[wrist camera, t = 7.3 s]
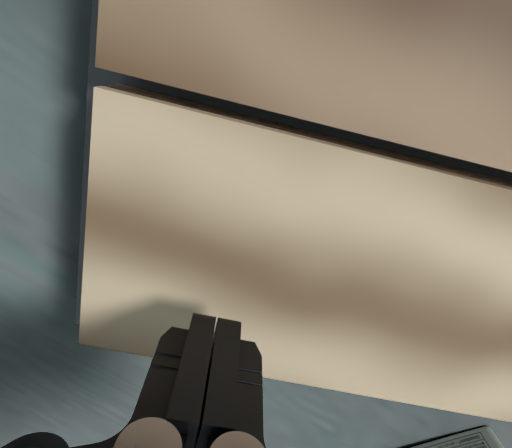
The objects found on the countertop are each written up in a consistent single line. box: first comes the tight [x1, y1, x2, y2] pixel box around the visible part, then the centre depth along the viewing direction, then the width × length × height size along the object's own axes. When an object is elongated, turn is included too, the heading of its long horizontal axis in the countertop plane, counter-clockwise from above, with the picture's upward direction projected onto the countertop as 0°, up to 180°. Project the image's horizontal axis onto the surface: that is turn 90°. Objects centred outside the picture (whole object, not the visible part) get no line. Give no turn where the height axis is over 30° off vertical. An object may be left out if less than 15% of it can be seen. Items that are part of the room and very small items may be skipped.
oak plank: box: [79, 84, 512, 422], centre depth 13 cm, size 9×19×2 cm, turn 76°
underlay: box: [75, 0, 512, 325], centre depth 13 cm, size 20×21×1 cm
